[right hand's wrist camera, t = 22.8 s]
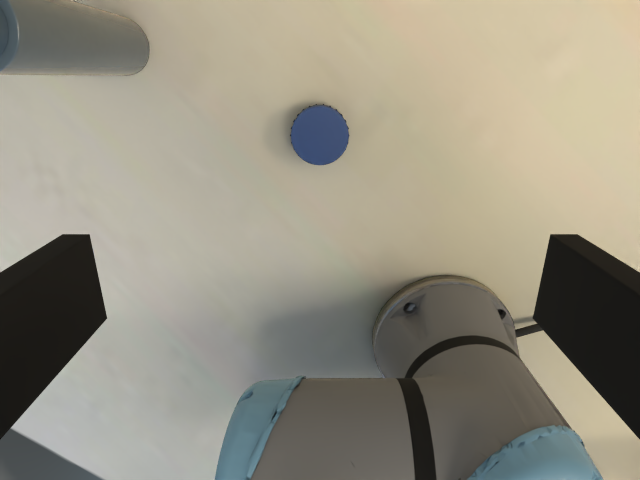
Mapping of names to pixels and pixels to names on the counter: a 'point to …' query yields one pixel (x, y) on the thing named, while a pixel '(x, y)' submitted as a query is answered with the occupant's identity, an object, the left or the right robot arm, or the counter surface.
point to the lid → (319, 134)
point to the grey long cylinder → (68, 40)
